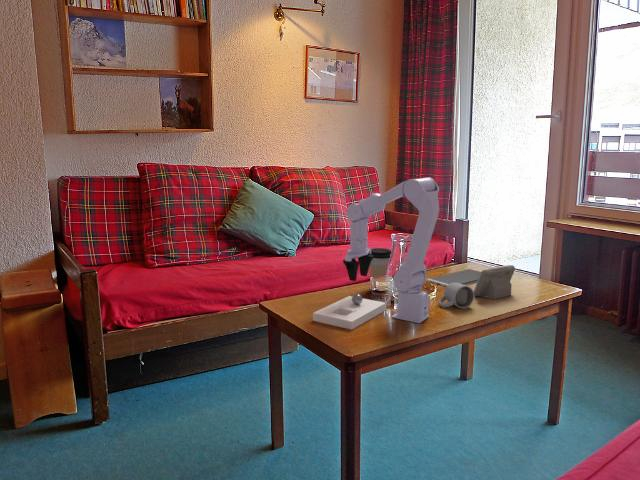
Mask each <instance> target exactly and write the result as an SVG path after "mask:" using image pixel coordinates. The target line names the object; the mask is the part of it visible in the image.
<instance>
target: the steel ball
mask: <svg viewBox="0 0 640 480" xmlns="http://www.w3.org/2000/svg"><path fill="white" fill-rule="evenodd" d="M352 296H353V297H352V302H353V303H354V304H355V305H359V304H361V303H362V300H363V299H364V298H363V296H362V295H361V294H360V293H359V294H358V293H355V294H353V295H352ZM362 298H363V299H362Z"/></svg>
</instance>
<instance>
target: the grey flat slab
mask: <svg viewBox="0 0 640 480" xmlns="http://www.w3.org/2000/svg"><path fill="white" fill-rule="evenodd" d="M481 272H482V271H480V270H475V269H472V268H468V269H464V270H461V271H455V272H451V273H447V274H442V275H438V276H433V277H428V278H426V282H427V283H431V284H435V285H439V286H441V287H444V288H446V287H447V285H449V284H450V283H460V284H463V285H466V286H470V285H473V284H477V282H478V279H479V276H480V274H481Z"/></svg>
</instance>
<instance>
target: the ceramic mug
mask: <svg viewBox="0 0 640 480" xmlns="http://www.w3.org/2000/svg"><path fill="white" fill-rule="evenodd" d="M443 294H444V295H443V296H442V297H440V299H439V300H438V304H439V306H440V307H441V308H449V307H452V306H453V305H454V306H456V307H457V308H459V309H467V308H469V307H470V306H471V305H472V304H473V302H474V300H475V295H474V289H473V288H472V287H470V285H463V284H460V283H450V284H449V285H447V286H446V287H444V292H443ZM444 301H447V302H444ZM443 302H444V303H443Z"/></svg>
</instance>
